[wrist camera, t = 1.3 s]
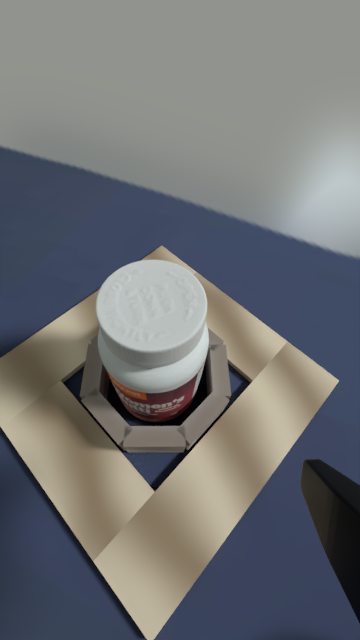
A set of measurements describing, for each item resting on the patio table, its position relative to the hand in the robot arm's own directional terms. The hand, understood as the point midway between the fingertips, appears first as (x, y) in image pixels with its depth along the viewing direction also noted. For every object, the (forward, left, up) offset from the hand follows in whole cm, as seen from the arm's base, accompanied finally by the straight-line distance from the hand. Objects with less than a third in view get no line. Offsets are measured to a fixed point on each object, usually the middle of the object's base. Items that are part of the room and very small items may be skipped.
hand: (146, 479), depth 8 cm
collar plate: (+5, +5, -13) cm, 15 cm away
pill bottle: (+5, +5, -13) cm, 15 cm away
